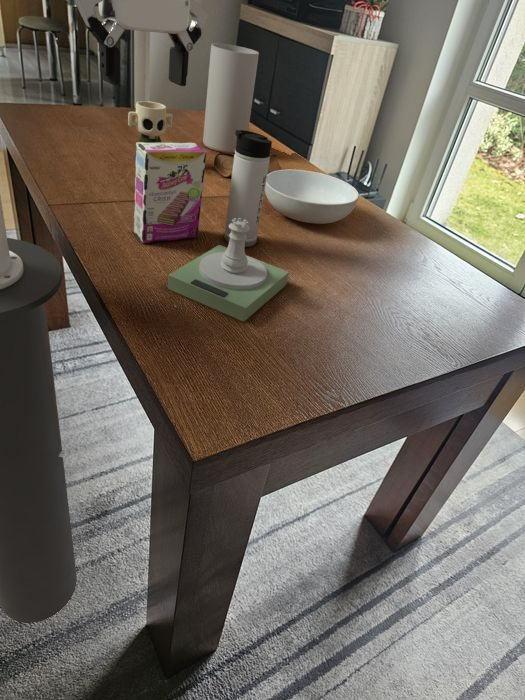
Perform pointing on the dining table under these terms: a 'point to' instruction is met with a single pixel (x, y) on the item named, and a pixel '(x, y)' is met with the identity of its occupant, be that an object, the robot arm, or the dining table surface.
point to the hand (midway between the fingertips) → (145, 83)
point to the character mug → (150, 120)
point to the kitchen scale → (228, 284)
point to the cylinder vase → (229, 95)
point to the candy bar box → (168, 190)
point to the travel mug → (248, 182)
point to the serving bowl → (310, 195)
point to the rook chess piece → (236, 248)
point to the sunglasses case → (225, 161)
